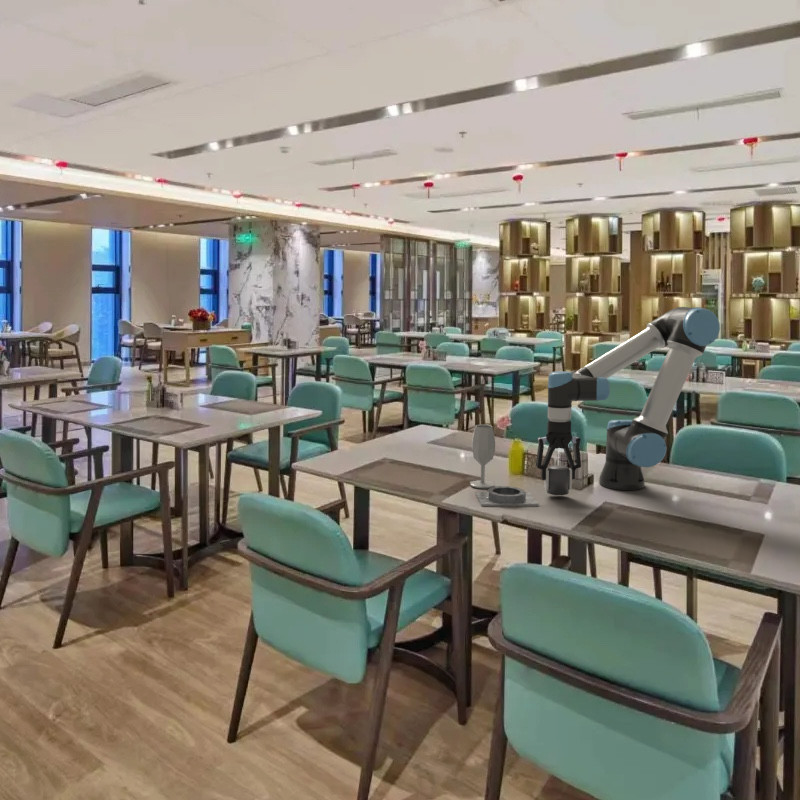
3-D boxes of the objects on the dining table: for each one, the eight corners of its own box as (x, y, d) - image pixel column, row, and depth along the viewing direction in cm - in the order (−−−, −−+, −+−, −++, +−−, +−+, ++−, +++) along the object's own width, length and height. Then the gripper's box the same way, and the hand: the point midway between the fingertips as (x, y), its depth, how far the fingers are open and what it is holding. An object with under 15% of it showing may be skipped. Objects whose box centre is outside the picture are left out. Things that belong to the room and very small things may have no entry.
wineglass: (475, 490, 249) (476, 428, 246) (466, 483, 257) (467, 424, 254) (499, 488, 251) (501, 427, 248) (489, 482, 259) (491, 423, 256)
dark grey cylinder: (565, 489, 244) (566, 464, 243) (571, 494, 238) (571, 469, 236) (544, 489, 244) (545, 465, 243) (549, 495, 237) (550, 470, 236)
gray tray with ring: (529, 494, 244) (529, 485, 243) (538, 506, 231) (538, 496, 230) (475, 494, 243) (475, 485, 242) (481, 506, 230) (481, 496, 230)
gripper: (586, 417, 241) (584, 485, 245) (526, 418, 241) (525, 486, 244) (593, 421, 234) (591, 491, 237) (531, 422, 233) (530, 492, 237)
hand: (557, 488), depth 241 cm, fingers closed on dark grey cylinder, 7 cm apart
